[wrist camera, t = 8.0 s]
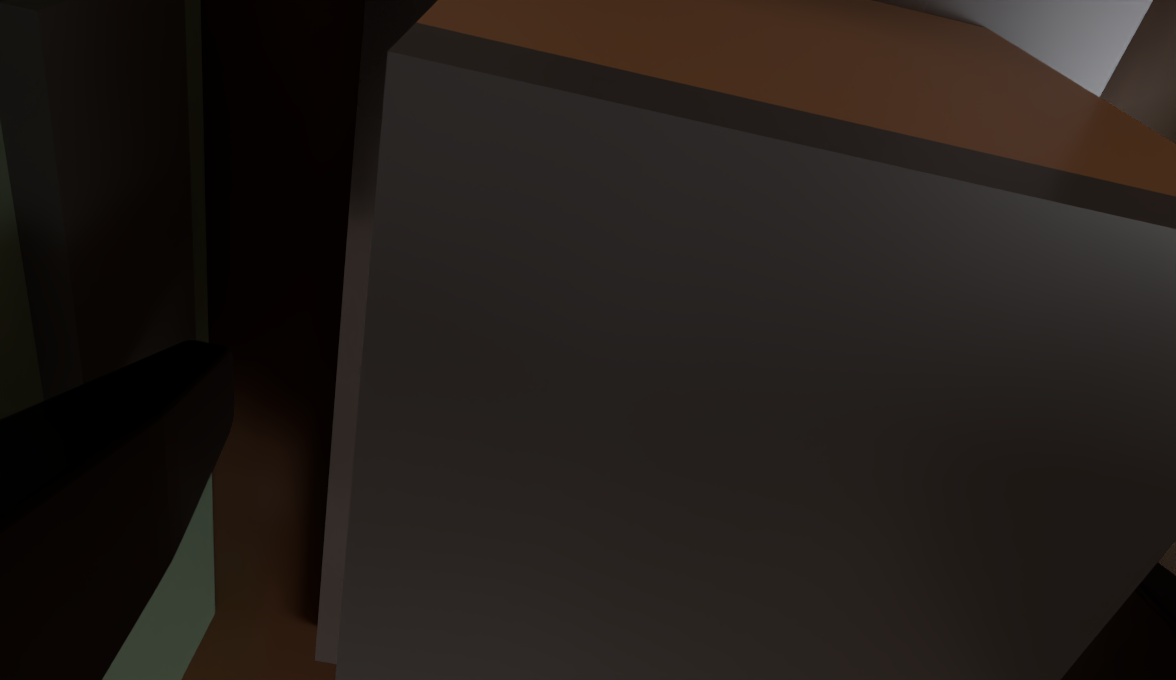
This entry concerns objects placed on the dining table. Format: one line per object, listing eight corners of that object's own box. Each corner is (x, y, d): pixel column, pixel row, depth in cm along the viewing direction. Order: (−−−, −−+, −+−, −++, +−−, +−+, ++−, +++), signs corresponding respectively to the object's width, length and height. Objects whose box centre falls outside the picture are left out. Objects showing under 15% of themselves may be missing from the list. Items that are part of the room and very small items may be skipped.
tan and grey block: (987, 28, 9) (1394, 277, 4) (731, 593, 14) (786, 1009, 9) (520, -85, 9) (387, 51, 4) (425, 538, 13) (313, 942, 9)
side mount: (1291, -327, 8) (1556, -380, 6) (742, 706, 16) (760, 847, 14) (426, -585, 7) (337, -761, 5) (325, 632, 16) (274, 768, 13)
